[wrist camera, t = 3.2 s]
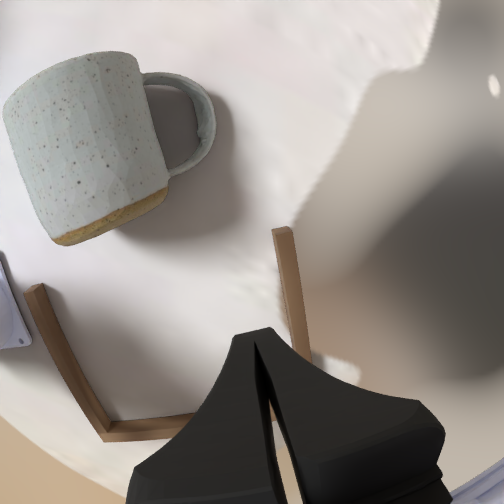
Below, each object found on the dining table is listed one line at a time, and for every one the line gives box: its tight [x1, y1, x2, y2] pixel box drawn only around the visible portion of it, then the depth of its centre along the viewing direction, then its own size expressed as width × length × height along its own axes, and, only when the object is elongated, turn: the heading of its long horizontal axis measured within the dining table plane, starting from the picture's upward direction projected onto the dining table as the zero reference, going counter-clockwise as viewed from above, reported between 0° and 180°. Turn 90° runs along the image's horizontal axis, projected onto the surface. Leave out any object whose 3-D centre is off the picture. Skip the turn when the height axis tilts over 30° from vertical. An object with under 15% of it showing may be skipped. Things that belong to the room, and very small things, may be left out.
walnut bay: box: [23, 226, 312, 442], centre depth 21 cm, size 19×15×2 cm
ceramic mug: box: [3, 51, 217, 246], centre depth 14 cm, size 11×8×8 cm
